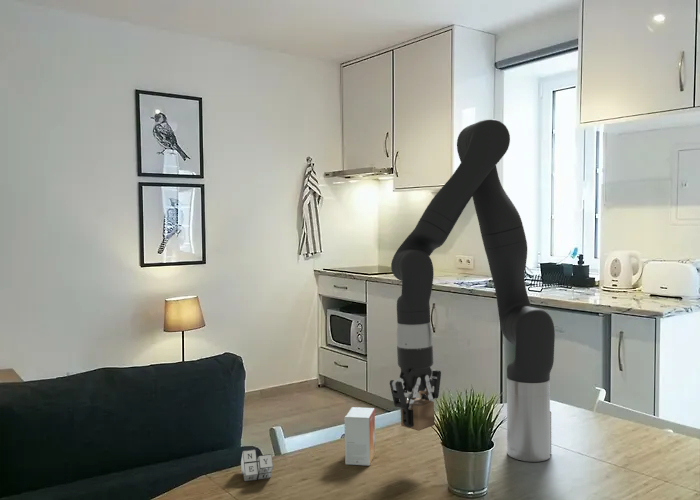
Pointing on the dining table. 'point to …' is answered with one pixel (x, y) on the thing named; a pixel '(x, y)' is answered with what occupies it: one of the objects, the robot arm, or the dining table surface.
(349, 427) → the small box
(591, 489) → the dining table surface
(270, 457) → the building blocks
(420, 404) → the walnut cube
